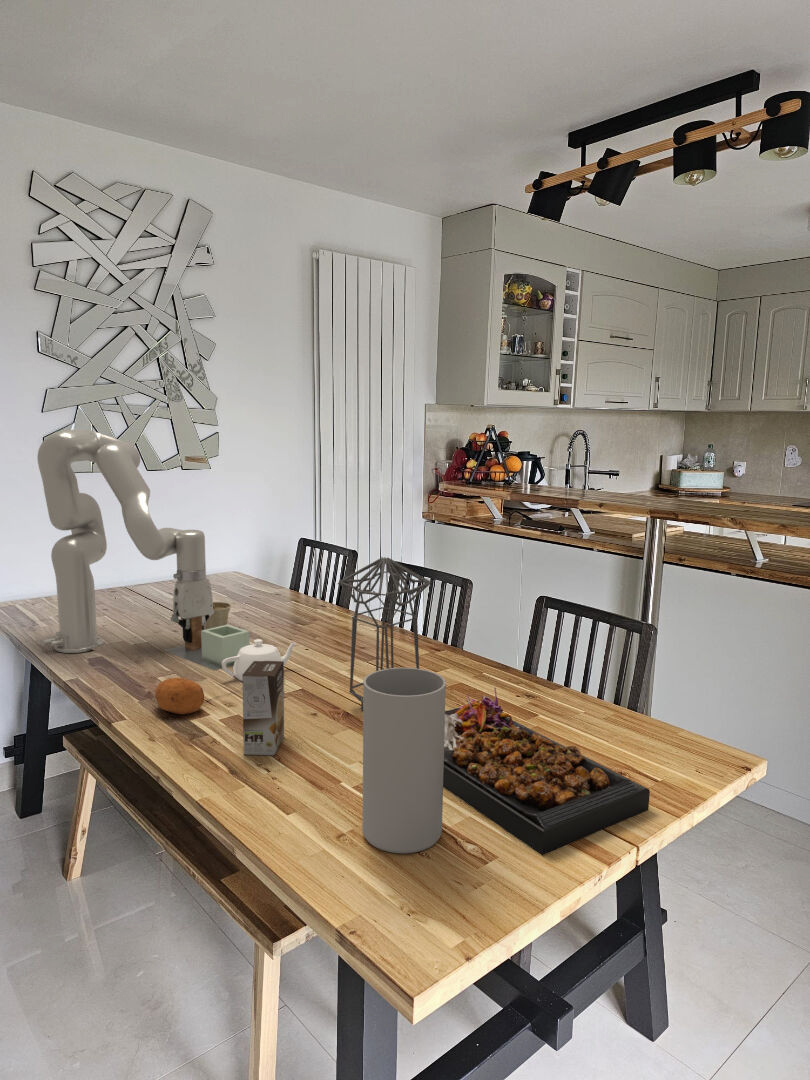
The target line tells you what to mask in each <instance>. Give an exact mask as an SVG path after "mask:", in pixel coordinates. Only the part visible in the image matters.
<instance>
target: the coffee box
mask: <svg viewBox="0 0 810 1080" xmlns="http://www.w3.org/2000/svg"><path fill="white" fill-rule="evenodd" d="M284 670H285V665H284V662H283V661H253V663H252V664H251V665H250V666H249V668H248V669H247V670H246V671H245V672H244V673H243V675H242V677H243V681H242V726H243V727H242V729H243V730H242V731H243V733H242V734H243V735H242V736H243V738H242V739H243V755H248V756H249V755H250V756H252V755H253V756H275V755H276V753H277V751H278V749H279V748H280V745H281V743H282V741H283V739H284V737H285V691H284V690H285V679H284V678H285V677H284V676H285V675H284V673H285V671H284Z"/></svg>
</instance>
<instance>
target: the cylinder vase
mask: <svg viewBox="0 0 810 1080" xmlns="http://www.w3.org/2000/svg"><path fill="white" fill-rule="evenodd" d="M362 683H363V685H362V686H363V689H362V690H363V691H362V692H363V694H362V695H363V710H362V712H363V715H362V718H363V720H362V725H363V726H362V825H361V826H362V834H363V836H364V838H365V839H366V840H367V842H368V843H370V845H372V846H374V847H375V848H376V849H378V850H381V851H383V852H388V853H392V854H393V853H394V854H413V853H414V854H415V853H418V852H422V851H424V850H427V849H429V848H430V847H432V846H434V845H435V844H436V843H437V842H438V841H439V840H440V837H441V836H442V832H443V810H444V809H443V805H444V803H443V801H444V787H443V771H444V732H445V711H446V689H447V688H446V684H447V682H446V680H445V678H444V677H443V676H442V675H440V674H438V673H437V672H433V671H430V670H428V669H422V668H419V669H416V667H394V668H391V667H389V669H386V668H384V669H383V670H380V669H379V671H376V670H375V671H373V672H371V673H369V674H367V675H366V676H365V677H364V678H363V682H362Z"/></svg>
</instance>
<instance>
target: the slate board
mask: <svg viewBox="0 0 810 1080" xmlns="http://www.w3.org/2000/svg"><path fill="white" fill-rule="evenodd" d="M163 651H164V652H167V653H170V654H171V655H175V656H177V657H179V658H182V659H185V660H187V661H190V662H192V663H195V664H197V665H200V666H201V667H204V668H206V669H210V670H212V671H214V672H215V671H218V670H223V668H222V667H220V666H218V665H215V664H213V663H210V662H208V661H205V660H203V659H202V648H200V649H196V650H191V649H189V648H186V647H185V644H182V645H177V646H174V647H171V648H169V647H168V648H166V649H163ZM229 667H233V665H230V666H227V668H229Z"/></svg>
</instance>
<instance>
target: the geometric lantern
mask: <svg viewBox="0 0 810 1080" xmlns="http://www.w3.org/2000/svg"><path fill="white" fill-rule="evenodd" d="M369 569H370V570H369ZM367 570H368V571H367ZM379 570H380V571H379ZM365 571H367V572H366V573H365V574H364V575H363V576H361V577H360V579H351V578H353V577H356V576H358V575H359V574H361V573H363V572H365ZM388 574H389V575H390V576H391V578H392V581H393V584H394V587H395V589H396V591H390V592H389V581H388V580H389V578H388V577H389V576H388ZM370 575H371V577H370ZM384 575H385V577H386V578H385V581H386V582H385V583H386V593H382V591H383V590H382V588H383V582H384V581H383V580H384ZM409 575H410V576H409ZM411 576H412V577H414V578H415V579H414V578H411ZM376 577H377V578H376ZM397 578H398V579H399V580H400V581H401V583H402V584H403V586H402V584H401V583H400V581H399V580H398V579H397ZM373 580H375V581H374V583H373V584H372V581H373ZM407 581H409V582H410V583H412V588H411V589H410V587H409V586H408V584H407V583H408V582H407ZM337 582H338V583H337V585H340V586H341V587H342V589H343V590H345V592H346V593H347V594H348V595H349V596H350V598H352V600H353V603H356V605H355V610H354V616H352V617H351V621H352V622H351V624H352V625H351V644H350V645H351V650H350V673H349V676H350V679H349V693H350V694H351V695H352V696H354V697H355V698H356V699H357V700H358V701H359V702H360V703H361V705H360V709H361V711H363V696H362V695H361V694H359V693H357V692H356V691H355V690H354V689H355V688H359V687H361V686H363V682H359V683H358V684H355V685H354V684H353V682H354V673H355V672H354V669H355V658H356V657H355V655H356V644H357V643H356V641H357V630H358V629H357V627H358V625H357V624H358V622H361V623H364V624H368V625H370V626H373V627H376V644H375V645H376V649H375V651H376V655H375V661H376V662H375V672H376V671H379V670H383V666H384V646H385V661H386V664H385V665H386V667H385V669H390V668H395V667H394V626H397V625H401V624H404V623H408V622H411V621H412V627H413V640H414V652H415V654H414V655H415V666H416V667H415V668H416V669H420V655H419V654H420V653H419V630H418V629H419V627H418V617H419V616H418V612H417V611H418V610H417V607H416V601H415V598H416V597H418V596H419V595H420V594H421V593H422V592H423V591H424V590H426V588H428V587H429V586H430V584H431V581H430V580H429V579H427V578H425V577H423V576H421V575H420V574H418V573H417V572H415V571H413V570H411V569H409V568H408V567H406V566H404V565H403V564H401V563H399V562H397V561H395V560H393V559H392V558H390V557H382V556H381V557H380V558H377V559H376V560H375V561H373V562H371V563H369V564H367V565H365V566H364V567H362V568H360V569H358V570H356V571H355V572H353V573H351V574H349V575H348V576H345V577H344V578H343V579H341V580H339V581H337ZM364 582H367V583H366V584H365V585H364V587H363V588H362V584H363V583H364ZM378 582H379V587H378V588H379V589H378V592H376V591H375V590H374V589H375V587H376V586H377V584H378ZM350 583H357V584H356V586H354V585H353V584H350ZM416 583H423V584H421V585H419V586H416V587H415V584H416ZM349 588H351V589H352V592H351V591H350V590H349ZM367 588H368V589H367ZM399 588H400V589H399ZM356 592H358V595H357V598H356V594H355V593H356ZM406 593H407V594H408V600H406V601H404V602H402V599H401V598H402V597H401V595H402V594H406ZM363 595H371V597H369V599H367V600H365V601H364V598H363ZM372 595H373V596H372ZM392 595H396V598H395V597H393V596H392ZM380 596H387V597H388V598H389V599H390V600H391V601H393V602H392V603H391V606H390V607H387V606H386V605H385V603H384V601H383V600H382V599H381V598H380ZM360 599H361V600H360ZM375 599H378V600H379V601H380V602H381V604H382V605H383V607H382V606H381V607H377V608H374V609H373V608H372V609H370V607H369V606H368V603H370V602H371V601H373V600H375ZM412 602H413V604H412ZM360 604H361V605H364V607H365V608H366V610H365V611H362V612H359V608H360ZM408 604H409V608H410V612H407V611H404V610H400V608H401V607H402V606H406V605H408ZM395 605H397V606H398V607H397V608H394V606H395ZM413 606H414V607H413ZM381 609H382V624H381V625H379V624H378V621H377V620H376V619H375V616H374V615H373V613H372V612H376V611H378V610H381ZM386 611H389V614H390V618H389V620H388V621H387V623H385V622H386ZM393 611H394V613H393ZM414 611H415V612H414ZM397 612H399V613H403V614H406V615H409V616H411V617H412V618H409V619H406V620H402V621H397V622H395V623H394V616H395V615H396V613H397ZM364 614H369V616H370V617H371V620H372V621H373V622H374V623H372V622H368V621H366V620H363V619H360V618H358V616H360V615H364ZM385 624H386V625H385ZM388 628H390V660H389V641H388V637H389V636H388ZM380 629H381V646H380ZM384 642H385V643H384ZM380 647H381V648H380ZM379 657H380V658H379ZM379 660H380V663H379ZM389 661H390V662H391V663H390V662H389ZM379 664H380V665H379ZM390 664H391V665H390ZM379 666H380V667H379ZM379 668H380V669H379Z"/></svg>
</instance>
